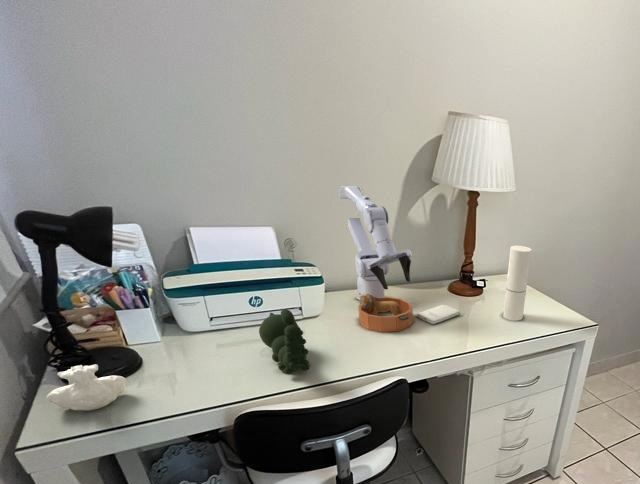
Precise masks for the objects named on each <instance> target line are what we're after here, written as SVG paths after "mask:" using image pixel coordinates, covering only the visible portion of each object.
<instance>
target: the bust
mask: <svg viewBox="0 0 640 484" xmlns="http://www.w3.org/2000/svg"><path fill="white" fill-rule="evenodd" d="M98 370H99V365H98V364H96V363H95V364H91V365H83V364H79V365H75V366H74V365H73V366H71V367H70V369H69V368H68V369H66V370H65V371H59V372H57V376H58V377H59V378H60V379H65V380H67V381H68V385H64V386H61V387H57V388H55V389H53V390H51V391H50V392H49V393H48V394H47V395H46V399H47V400H48V401H49V402H50V403H53V404H54V405H56V406H58V407H60V408H62V409H70V410H72V411H93V410H98V409H101V408H104V407H106V406H108V405H109V404H110V403H112V402H114V401H115V400H117V398H118V396H120V395H121V394H123V393H124V392H125V390H126V385H127V380H126V378H125V377H124V376H121V375H108V376H102V377H98V376H96V375H95V373H96V372H98Z"/></svg>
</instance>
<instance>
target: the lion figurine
mask: <svg viewBox="0 0 640 484" xmlns="http://www.w3.org/2000/svg"><path fill="white" fill-rule="evenodd" d="M359 304H360V305H361V306H362V307H363V308H365V309H366V310H367V311H369V312H373V313H372V315H376V316H378V313H386V312H391V314H393V315H392V316H396V315H400V314H402V311H401V308H400V306H399V305H398V304H397V303H396V302H394V301H380V300H379V299H378V298H376V297H374V296H372V295H369V294H362V295H361V296H360V300H359ZM397 308H399V311H400V313H398V311H397ZM389 310H390V311H389Z"/></svg>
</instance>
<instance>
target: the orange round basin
mask: <svg viewBox="0 0 640 484" xmlns="http://www.w3.org/2000/svg"><path fill="white" fill-rule="evenodd" d="M376 298H378V299H379V300H380V301H394V302H396V303H397V304H398V305H399V306H400V308H401V311H402V314H401V313H400V311H399V308H397V311H398V313H399V315H396V316H393V315H387V316H386V315H385V316H382V315H381V316H380V315H377V316H376V315H373V312H369V311H367V310H366V309H365V308H363V307H362V306H361V305H360V303H359V304H358V305H357V307H358V319H359V324H360V326H362V327H363V328H365V329H367V330H369V331H374V332H381V333H388V332H399V331H401V330H404V329H408V328H409V327H410V325H411V324H412V323H413V321H414V315H413V312H414V311H413V306H412V304H411V302H409V301H407V300H405V299H403V298H399V297H393V296H385V297H376ZM388 312H391V311H390V310H389V311H388Z"/></svg>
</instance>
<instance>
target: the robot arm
mask: <svg viewBox="0 0 640 484" xmlns="http://www.w3.org/2000/svg"><path fill="white" fill-rule="evenodd" d="M339 196H340V199H350V200H352V201H353V202H354V203H355V204H356V209H357V210H358V211H359V214H360V215H361V216H362V217H363V223H364V225H365V227H366V228H367V230H368V233H370V235H371V237H372V240H373V243H374V247H375V248H373V246H372V243H371V242H370V239H369V237H368V234H367V232H366V229H365V228H364V225H363V223H362V221H361V217H359V218H349V217H348V226H347V229H348V230H349V233H350V235H351V238H352V240H353V242H354V244H355V247H356V249H357V253H356V255H355V257H354V266H355V271H356V274H357V276H358V277H357V280H356V286H357V296H356V298H355V299H357V300H358V301H360V296H361V295H362V294H369V295H372V296H374V297H386V296H385V290H388V289H389V287H388V283H387V281H386V276H387V275H388V273H389V270H390V269H389V268H390V267H389V265H391V264H393V263H395V262H399V263H400V266H401V268H402V271H403V275H404V278H405V281H406V282H408V283H410V282H411V276H410V275H411V274H410V273H411V264H412V260H411V258H412V257H413V254H412V250H411V249H405V250H400V251H397V249H396V247H395V244H394V240H393V237H392V234H391V231H390V227H389V214H388V213H389V212H388V211H387V208H386V207H385V206H378V205H377V204H376V203H375V202H374V201H373V200H372V199H371V198H370V196H369V195H364V193H363V194H362V193H361V190H360V188H359V187H358V186H341V187H340V189H339Z"/></svg>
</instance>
